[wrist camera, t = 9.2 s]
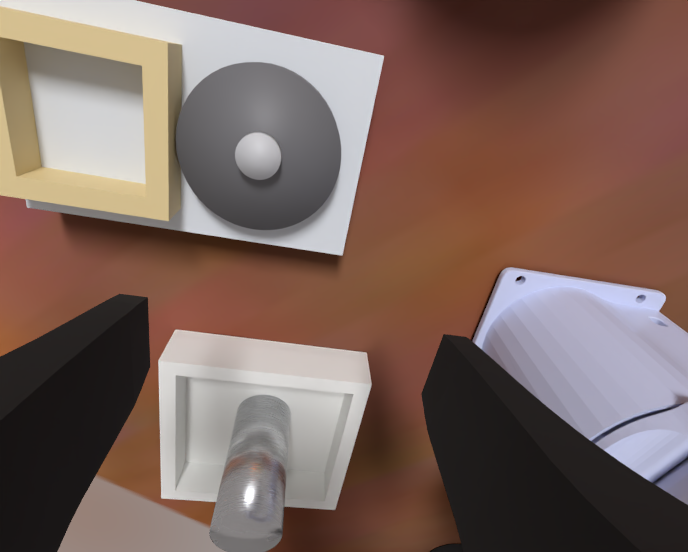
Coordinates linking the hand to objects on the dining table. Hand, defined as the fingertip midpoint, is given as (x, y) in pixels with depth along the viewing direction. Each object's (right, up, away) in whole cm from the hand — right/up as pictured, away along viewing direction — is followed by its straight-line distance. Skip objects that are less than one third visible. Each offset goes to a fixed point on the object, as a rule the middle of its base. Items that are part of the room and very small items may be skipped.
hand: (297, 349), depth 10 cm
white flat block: (-5, +8, +7) cm, 12 cm away
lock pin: (-4, -6, +14) cm, 16 cm away
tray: (-4, -6, +15) cm, 17 cm away
